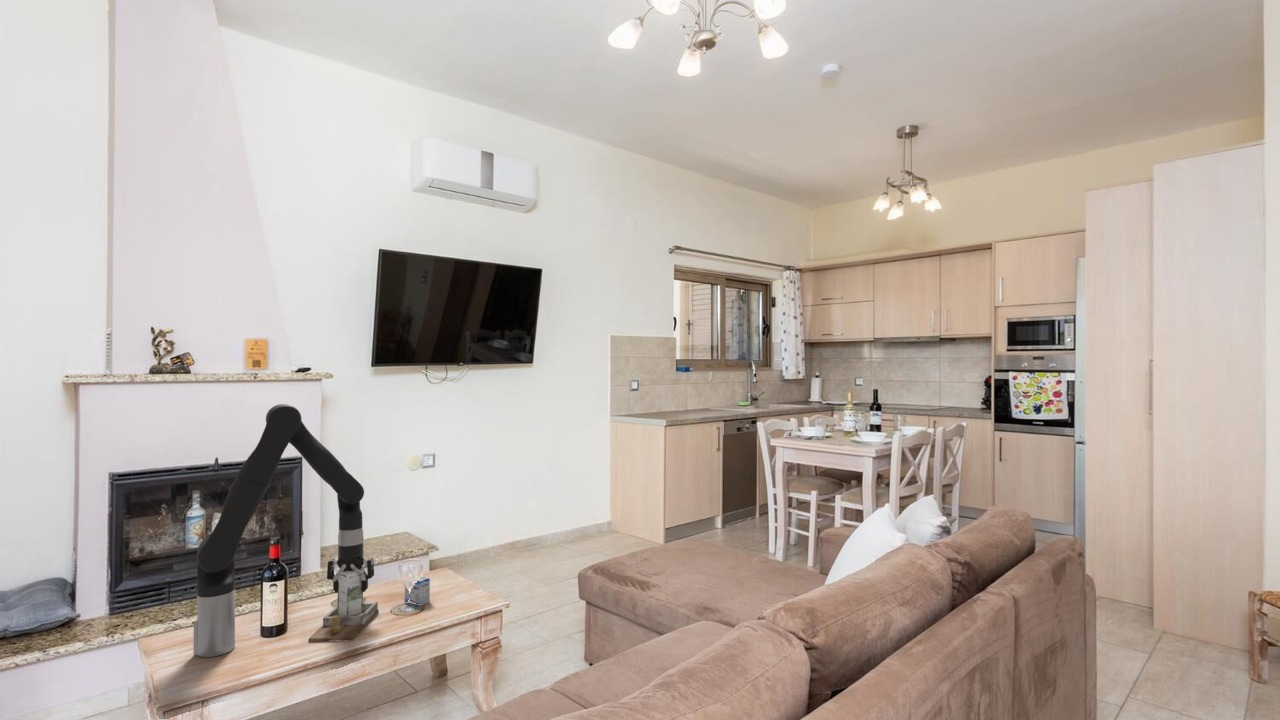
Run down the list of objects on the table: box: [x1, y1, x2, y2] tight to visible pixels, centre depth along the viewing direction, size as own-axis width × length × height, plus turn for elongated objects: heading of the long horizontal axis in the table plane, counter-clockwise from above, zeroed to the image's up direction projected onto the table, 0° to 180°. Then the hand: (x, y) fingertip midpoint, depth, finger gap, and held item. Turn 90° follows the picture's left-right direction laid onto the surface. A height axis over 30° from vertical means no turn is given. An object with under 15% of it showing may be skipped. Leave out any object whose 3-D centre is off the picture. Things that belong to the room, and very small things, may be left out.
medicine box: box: [404, 576, 431, 606], centre depth 221 cm, size 8×4×9 cm, turn 62°
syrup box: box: [336, 569, 364, 616], centre depth 205 cm, size 6×6×14 cm
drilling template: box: [308, 601, 380, 643], centre depth 201 cm, size 13×22×6 cm, turn 3°
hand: (350, 591), depth 205 cm, fingers closed on syrup box, 8 cm apart
